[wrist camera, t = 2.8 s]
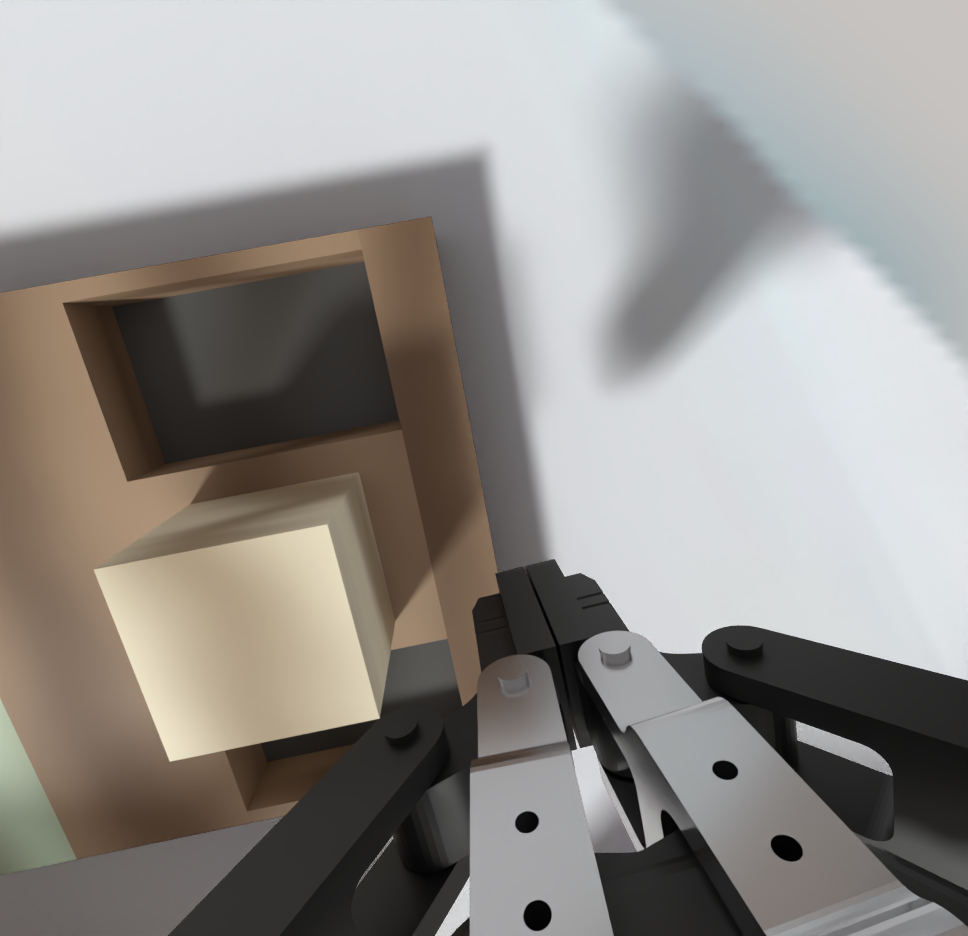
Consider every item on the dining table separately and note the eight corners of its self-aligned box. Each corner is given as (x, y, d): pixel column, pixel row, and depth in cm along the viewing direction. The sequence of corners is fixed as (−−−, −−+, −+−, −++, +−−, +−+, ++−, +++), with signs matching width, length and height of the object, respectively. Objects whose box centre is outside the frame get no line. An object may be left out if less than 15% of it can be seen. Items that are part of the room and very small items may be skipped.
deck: (432, 233, 17) (429, 192, 12) (523, 714, 21) (547, 827, 16) (-358, 374, 16) (-705, 391, 11) (-90, 841, 21) (-254, 998, 16)
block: (359, 472, 16) (327, 524, 11) (395, 620, 17) (379, 718, 13) (189, 504, 16) (93, 569, 11) (239, 652, 17) (169, 761, 13)
